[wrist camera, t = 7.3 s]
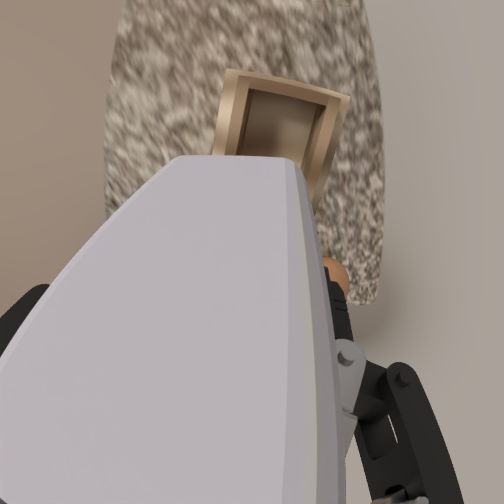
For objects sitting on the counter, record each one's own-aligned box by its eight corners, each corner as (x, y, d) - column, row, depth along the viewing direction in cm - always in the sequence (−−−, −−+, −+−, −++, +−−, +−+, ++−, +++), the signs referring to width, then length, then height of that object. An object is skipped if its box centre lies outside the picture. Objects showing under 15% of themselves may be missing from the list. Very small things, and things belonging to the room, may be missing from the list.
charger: (300, 125, 13) (391, 587, 1) (286, 274, 18) (276, 537, 6) (204, 123, 13) (-69, 427, 1) (213, 269, 18) (145, 516, 6)
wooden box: (232, 69, 28) (213, 66, 20) (342, 94, 28) (366, 101, 20) (213, 183, 36) (192, 219, 28) (311, 204, 37) (319, 246, 29)
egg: (315, 237, 40) (321, 276, 33) (354, 260, 41) (365, 299, 34) (287, 272, 44) (287, 312, 37) (324, 291, 45) (330, 331, 38)
